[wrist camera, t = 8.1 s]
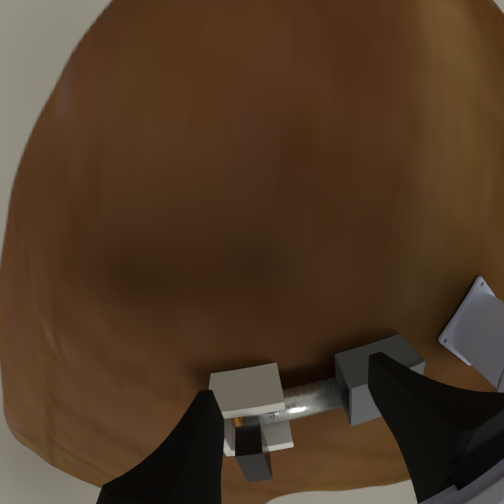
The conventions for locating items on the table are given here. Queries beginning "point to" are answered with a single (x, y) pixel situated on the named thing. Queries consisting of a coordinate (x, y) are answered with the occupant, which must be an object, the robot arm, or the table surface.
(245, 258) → the table surface
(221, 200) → the table surface
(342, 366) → the charcoal sleeve
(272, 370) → the ceramic socket
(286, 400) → the silver cylinder with handle
